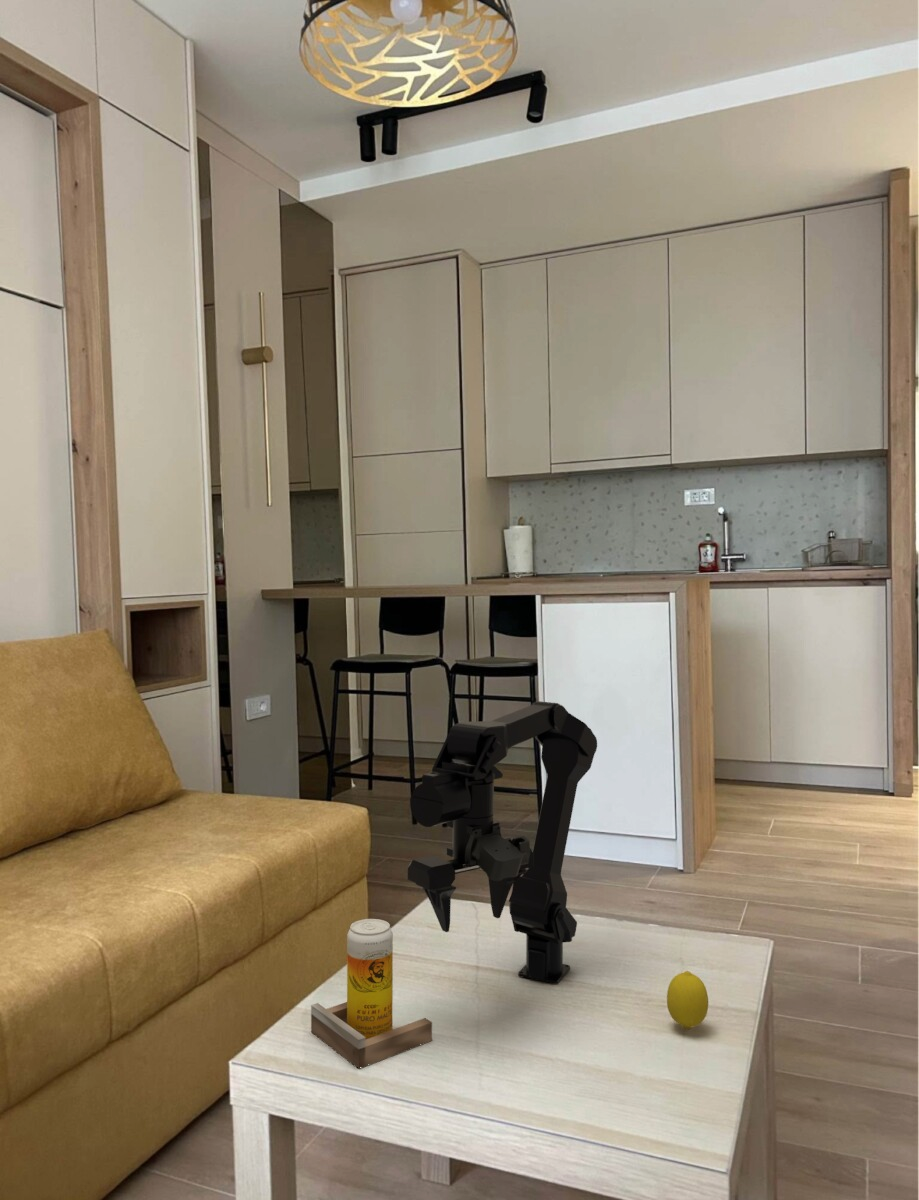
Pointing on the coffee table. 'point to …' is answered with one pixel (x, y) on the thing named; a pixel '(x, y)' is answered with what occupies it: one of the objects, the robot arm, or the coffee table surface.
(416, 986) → the coffee table surface
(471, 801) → the robot arm
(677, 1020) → the lemon
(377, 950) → the beer can
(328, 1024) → the frame
